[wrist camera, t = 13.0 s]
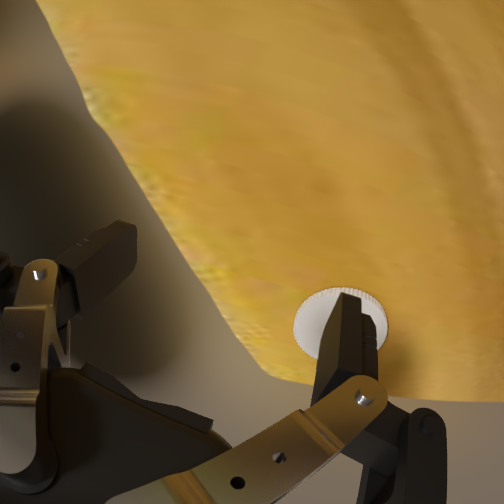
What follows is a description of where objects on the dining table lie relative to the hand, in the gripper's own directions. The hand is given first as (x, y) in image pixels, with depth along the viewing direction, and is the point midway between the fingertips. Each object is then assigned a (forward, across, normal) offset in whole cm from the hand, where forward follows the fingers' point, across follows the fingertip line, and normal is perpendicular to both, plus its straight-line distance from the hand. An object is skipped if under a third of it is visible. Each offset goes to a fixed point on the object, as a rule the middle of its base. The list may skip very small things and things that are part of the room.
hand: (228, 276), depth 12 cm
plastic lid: (+29, -12, +23) cm, 39 cm away
